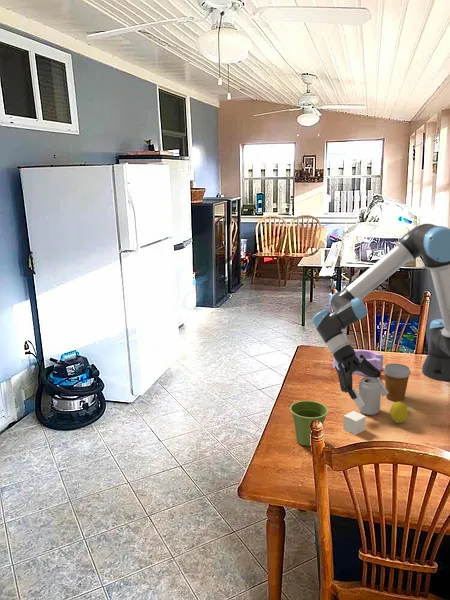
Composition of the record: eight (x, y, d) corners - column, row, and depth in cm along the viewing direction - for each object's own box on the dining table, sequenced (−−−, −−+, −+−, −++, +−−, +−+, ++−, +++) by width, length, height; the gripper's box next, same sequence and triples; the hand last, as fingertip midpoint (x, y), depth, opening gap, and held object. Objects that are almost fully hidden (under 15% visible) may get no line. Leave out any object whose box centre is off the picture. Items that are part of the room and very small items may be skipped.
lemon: (408, 427, 164) (409, 405, 162) (390, 426, 165) (392, 404, 163) (405, 419, 169) (407, 398, 167) (388, 418, 170) (390, 397, 168)
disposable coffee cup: (414, 400, 183) (416, 370, 180) (392, 405, 180) (394, 374, 177) (397, 390, 191) (399, 361, 188) (376, 394, 188) (378, 365, 185)
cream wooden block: (352, 424, 167) (353, 410, 166) (365, 430, 164) (365, 416, 162) (343, 429, 164) (343, 415, 163) (355, 435, 161) (356, 421, 159)
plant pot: (313, 455, 150) (314, 421, 147) (282, 442, 158) (282, 409, 155) (334, 439, 158) (335, 407, 155) (303, 427, 166) (303, 396, 163)
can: (365, 404, 181) (366, 373, 178) (383, 411, 176) (385, 379, 173) (353, 411, 176) (355, 380, 173) (372, 418, 171) (374, 386, 168)
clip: (330, 371, 212) (330, 355, 210) (337, 360, 223) (337, 346, 221) (378, 378, 203) (379, 362, 201) (383, 367, 214) (384, 352, 212)
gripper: (356, 346, 191) (388, 394, 183) (312, 362, 176) (344, 416, 168) (368, 336, 185) (401, 385, 178) (324, 352, 171) (358, 407, 163)
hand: (374, 400), depth 173 cm, fingers open, 13 cm apart
